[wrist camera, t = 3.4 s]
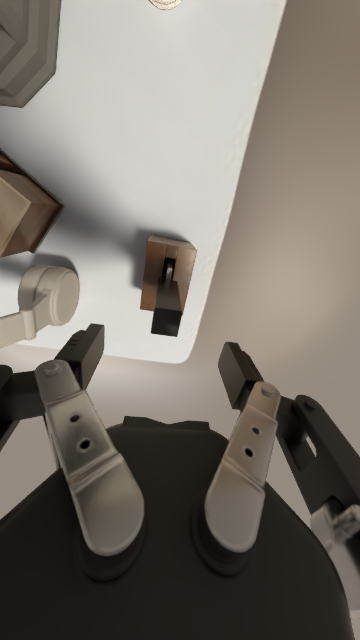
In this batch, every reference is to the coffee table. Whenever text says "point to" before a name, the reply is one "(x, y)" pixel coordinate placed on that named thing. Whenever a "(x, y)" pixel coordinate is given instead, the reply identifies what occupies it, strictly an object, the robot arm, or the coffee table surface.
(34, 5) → the lantern
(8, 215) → the tan and brown block
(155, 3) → the chess piece
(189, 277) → the knife block
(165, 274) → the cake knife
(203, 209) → the coffee table surface
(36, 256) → the coffee table surface
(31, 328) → the headphones
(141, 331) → the coffee table surface
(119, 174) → the coffee table surface
